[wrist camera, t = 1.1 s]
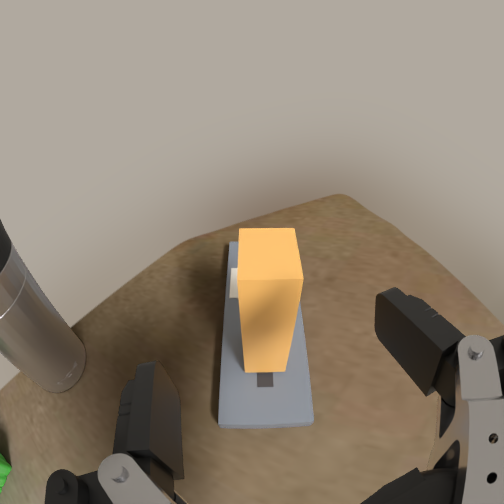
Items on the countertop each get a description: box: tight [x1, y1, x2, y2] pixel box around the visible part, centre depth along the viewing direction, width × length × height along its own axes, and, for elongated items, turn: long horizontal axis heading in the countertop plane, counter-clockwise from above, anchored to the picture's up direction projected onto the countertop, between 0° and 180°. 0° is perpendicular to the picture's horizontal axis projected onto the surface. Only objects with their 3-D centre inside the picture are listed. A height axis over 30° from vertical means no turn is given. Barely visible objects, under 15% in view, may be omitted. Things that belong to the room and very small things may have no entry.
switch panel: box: [218, 242, 314, 428], centre depth 33 cm, size 26×9×2 cm, turn 0°
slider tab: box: [237, 228, 303, 373], centre depth 23 cm, size 5×4×14 cm
